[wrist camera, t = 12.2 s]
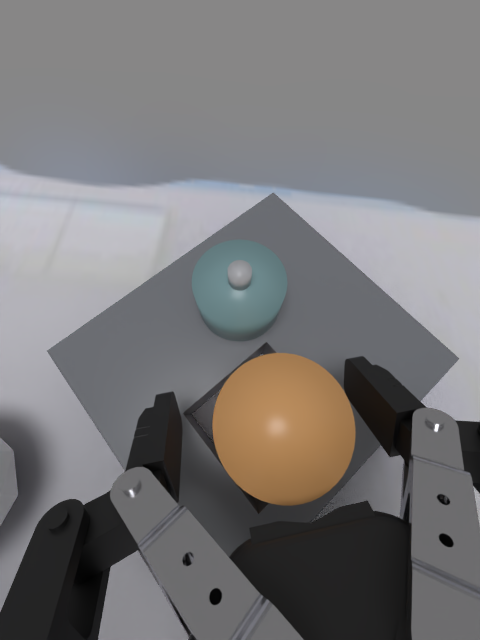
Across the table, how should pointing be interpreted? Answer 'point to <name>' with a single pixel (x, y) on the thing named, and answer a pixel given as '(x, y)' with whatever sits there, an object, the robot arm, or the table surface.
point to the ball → (7, 479)
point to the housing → (241, 349)
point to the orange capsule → (283, 429)
